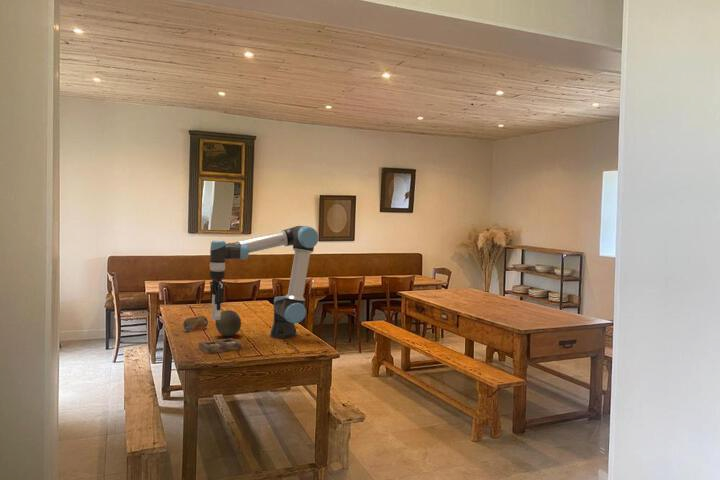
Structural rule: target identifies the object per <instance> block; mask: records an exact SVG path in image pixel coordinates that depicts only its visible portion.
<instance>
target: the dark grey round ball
mask: <svg viewBox="0 0 720 480" xmlns="http://www.w3.org/2000/svg"><path fill="white" fill-rule="evenodd" d="M214 321H215V327H216V330H217V332H218V333H220V334H221V335H222V336H224V337H232V336H233V337H234V336H235V335H236V334H238V332H239V331H240V330H241V327H242V320H241V318H240V315H239V313H237V312H236V311H234V310H231V309H229V310H228V309H227V310H223V311H221V316H220V320H214Z"/></svg>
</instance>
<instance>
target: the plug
mask: <svg viewBox="0 0 720 480" xmlns="http://www.w3.org/2000/svg"><path fill="white" fill-rule="evenodd" d="M215 303H216V294H212V300H211V320H213V321H216V320H220V316H221V312H222V311H221V312H220V316H215Z"/></svg>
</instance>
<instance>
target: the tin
mask: <svg viewBox="0 0 720 480" xmlns="http://www.w3.org/2000/svg"><path fill="white" fill-rule="evenodd" d="M208 321H209V320H208V318H207V317H206V316H204V315H197V316H191V317H187V318H186V319H184V321H183V325H182V326H183V329H184V330H185V331H187V332H191V333H192V332H196V331H197V332H198V331H204V330H205V329H206V328H207V327H208Z"/></svg>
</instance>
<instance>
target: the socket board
mask: <svg viewBox="0 0 720 480" xmlns="http://www.w3.org/2000/svg"><path fill="white" fill-rule="evenodd" d="M242 348H243V344H242V342H240V341H238V340H236V339H235V338H232V337H230V338H223V339H215V340H208V341H200V342H198V349H200V350H201V351H203V352H204V353H205V354H207V355H208V354H209V355H210V354H216V353H222V352H230V351H236V350H237V351H239V350H242Z"/></svg>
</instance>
